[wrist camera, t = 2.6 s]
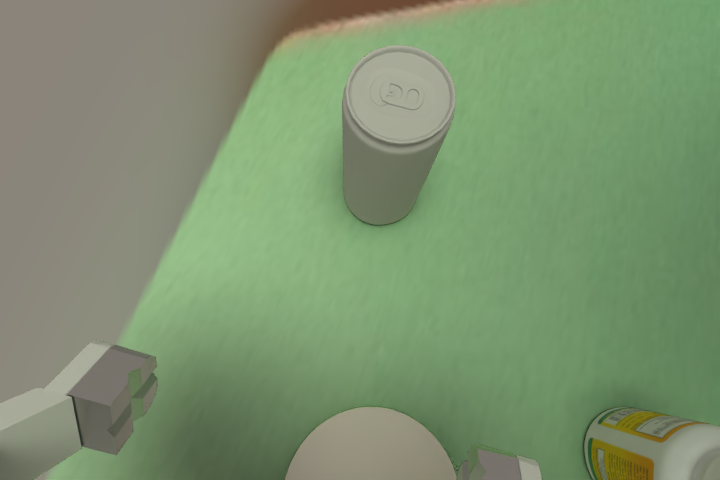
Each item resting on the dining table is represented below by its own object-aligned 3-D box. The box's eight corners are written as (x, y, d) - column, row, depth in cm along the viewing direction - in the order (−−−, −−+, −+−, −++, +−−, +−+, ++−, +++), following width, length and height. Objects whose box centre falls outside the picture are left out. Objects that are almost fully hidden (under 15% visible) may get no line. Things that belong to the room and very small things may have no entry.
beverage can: (354, 152, 31) (359, 29, 19) (422, 170, 30) (470, 57, 19) (335, 217, 29) (327, 129, 18) (405, 236, 29) (445, 160, 18)
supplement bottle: (605, 388, 27) (739, 406, 18) (685, 441, 27) (866, 488, 17) (564, 468, 26) (685, 532, 17) (646, 525, 26) (819, 625, 16)
